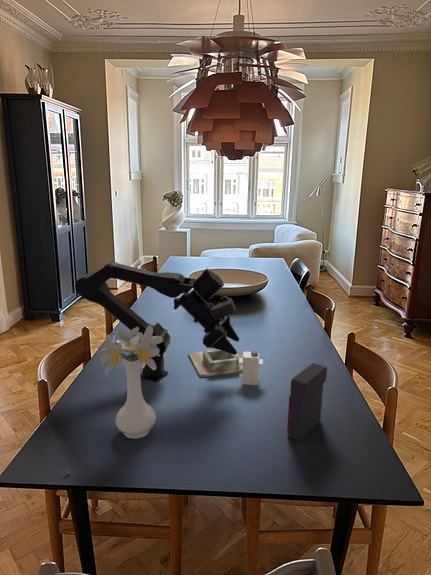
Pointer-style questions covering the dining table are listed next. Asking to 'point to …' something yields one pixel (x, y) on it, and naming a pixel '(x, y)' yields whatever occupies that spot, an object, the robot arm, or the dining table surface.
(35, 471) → the dining table surface
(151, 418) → the flower vase
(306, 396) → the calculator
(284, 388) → the dining table surface
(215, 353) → the plate
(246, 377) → the block
